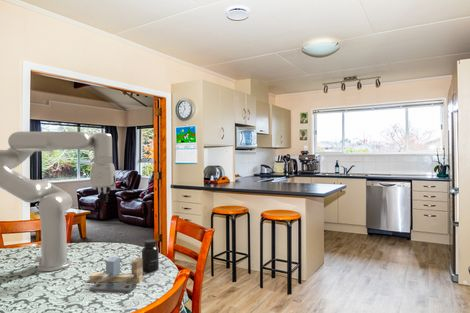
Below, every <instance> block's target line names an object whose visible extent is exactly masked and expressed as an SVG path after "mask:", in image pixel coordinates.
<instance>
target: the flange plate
mask: <svg viewBox="0 0 470 313" xmlns="http://www.w3.org/2000/svg"><path fill="white" fill-rule="evenodd" d="M136 288H137V283H123V282H96V283H94V285H92V286H91V287H90V288H89V292H101V293H102V292H104V293H105V292H106V293H124V294H125V293H127V294H128V293H129V294H130V293H131V292H133V291H135V289H136Z"/></svg>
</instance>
